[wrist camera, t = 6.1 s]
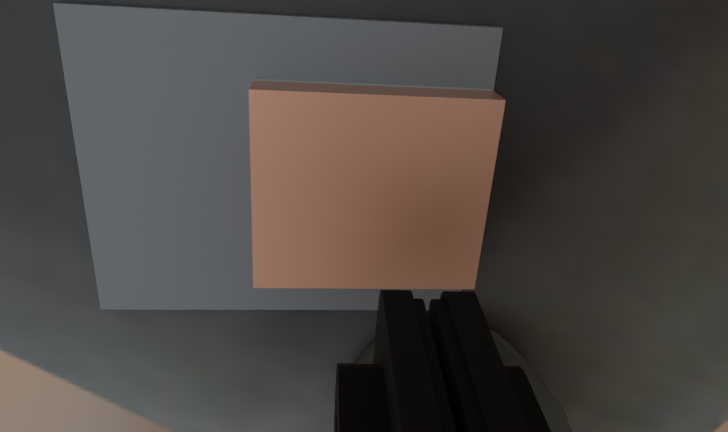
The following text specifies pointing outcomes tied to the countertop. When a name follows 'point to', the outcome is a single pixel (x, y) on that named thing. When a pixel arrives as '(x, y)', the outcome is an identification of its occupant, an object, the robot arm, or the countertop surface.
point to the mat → (217, 135)
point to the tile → (370, 183)
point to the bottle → (513, 358)
